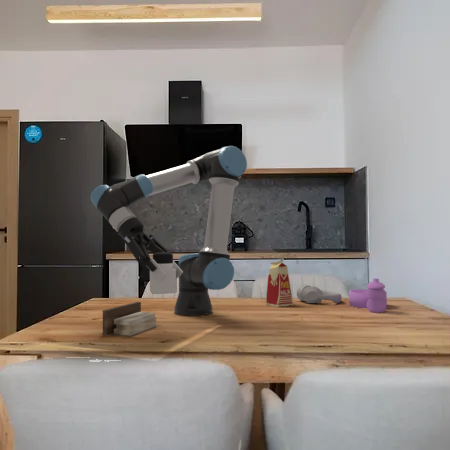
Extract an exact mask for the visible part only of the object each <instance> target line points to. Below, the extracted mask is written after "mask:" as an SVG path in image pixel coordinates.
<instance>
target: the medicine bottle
mask: <svg viewBox="0 0 450 450" xmlns="http://www.w3.org/2000/svg"><path fill="white" fill-rule="evenodd" d="M169 252H170V251H169ZM169 252H158V253H154V254H153V253H152V259H154V260H155V262H156V263H157V264H158V265H159V266H160V267H161V269H162V270H163V271H164V272H165V273H166V274H167V275H166V277H165V278H164V279H163V280H162V281H161V282H160V281H159V280H158V279H157V278H156V277H155V275H154V274H153V273H152V272H151V271H150V270H149V292H150V293H151V294H153V295H162V294H163V295H164V294H176V293H177V291H178V290H177V289H178V288H177V287H178V286H177V283H178V282H177V281H178V280H177V279H178V278H177V273H176V269H175V268H172V266H173V261H174V253H172V252H170V253H169Z"/></svg>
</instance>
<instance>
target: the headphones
mask: <svg viewBox="0 0 450 450" xmlns="http://www.w3.org/2000/svg"><path fill="white" fill-rule="evenodd" d="M296 297H297V299H298V300H299V301H301V300H302V302H305V301H306V302H305V303H307V304H310V303H317V304H320V303H321V302H322V301H323V300H325V299H327V300H326V301H332V302H333V303H335V304H340V303H341V301H342V298H343V297H342V295H341V293H338V292H333V291H328V290H323V289H320V288H319V287H316V286H312V285H309V284H302V285H300V286H299V287H298V288H297V290H296Z"/></svg>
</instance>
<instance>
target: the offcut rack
mask: <svg viewBox="0 0 450 450" xmlns="http://www.w3.org/2000/svg"><path fill="white" fill-rule="evenodd" d="M137 312H142V302H141V301H134V302H130V303H127V304H123V305H118V306H114V307H111V308H106V309H104V310H102V335H103V336H113V337H121V338H132V337H135V336H138V335H140V334H143V333H146V332H148V331H150V330H153V329H155V328H158V327H160V326H162V324H156V326H155V327H152V328H149V329H147V330H144V331H142V332H139V333H136V334H134V335H121V334H114V329H115V328H117V324H114V319H117V318H120V317H124V316H127V315H131V314H134V313H137Z"/></svg>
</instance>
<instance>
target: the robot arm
mask: <svg viewBox="0 0 450 450" xmlns="http://www.w3.org/2000/svg"><path fill="white" fill-rule="evenodd" d="M247 165H248V161H247V158H246V155H245V154H244V152H243V151H242V150H241V149H240V148H238V147H237V146H234V145H228V146H222V147H221V148H219V149H216V150H215V149H214V150H212V151H209V152H206V153H205V154H203V155H200V156H199V157H196V158H193V159H191V160H187V162H186V163H184V164H182V165H178V166H175V167H171V168H168V169H165V170H161V171H158V172H154V173H150V174H148V175H145V174H144V173H143V174H142V173H141V174H138V175H136V176H134V177H132V178H130V179H127V180H124V181H122V182H119V183H114V184H112V185H111V186H109V185H107V184H101V185H98V186H97V187H95V188H94V190H92V192H91V194H90V201H91V203H92V204H93V206H94V207H95V209H96V210H97V211H98V212H100V214H101V215H102V217H104V218H105V220H107V222H108V223H109V224H110V225H111V227H112V229H114V230H115V231H116V232H117V233H118V235H119V236H120V237H121V238H122V241H123V243H124V244H126V246H127V247H128V249H129V251H130V252H131V254H132V256H133V257H134V259H135V260H136V262H137V263H138V264H140V266H141V267H145V266H146V268H147V269H148V270H149V272H150V271H151V272H152V273H153V274H154V275H155V277H156V278H157V279H158V280H159V281H160V282H161V281H162V280H163V279H164V278H165V277H166V275H167V274H166V273H165V272H164V271H163V270H162V269H161V267H160V266H159V265H158V264H157V263H156V262H155V260H154V259H153V258H151V256H150V254H149V252H151V253H152V255H153V254H154V253H158V252H169V253H171V252H170V251H169V250H168V249H167V248H166V247H165V246H164V245H163V244H162V243H160V242H159V241H158V239H156V238H155V237H154V236H153V235H152V234H149V235H148V234H146V233H145V232H144V228H145V227H144V224H143V223H142V222H141V221H140V219H139V218H137V216H136V215H135V214H134V213H133V211H132V210H131V209H130V208H129V207H130V206H132V205H134V204H135V203H138V202H139V201H142V200H143V199H145V198H148V197H150V196H153V195H156V194H159V193H162V192H166V191H168V190H172V189H176V188H178V187H182V186H185V185H188V184H193V185H197V184H201V183H205V182H206V183H207V182H209V183H210V185H211V189H210V190H211V191H210V200H209V207H208V215H207V222H206V229H205V230H206V231H205V238H204V245H203V247H202V248H201V249H200V250H199V252H196V253H188V254H182V255H180V256H179V259H178V264H177V263H176V262H175V261H174V260H173V266H172V268H175V269H176V273H177V279H178V295H177V297H176V302H175V305H174V307H173V308H174V311H173V313H174V314H176V315H181V316H205V315H208V314H212V313H213V305H212V301H211V298H210V294H209V290H213V291H214V290H216V291H217V290H218V291H220V290H223V289H225V288H227V287H228V286H229V285H230V284H231V283H232V281H233V278H234V276H235V268H234V265H233V263H232V261H231V260H230V259H231V254H230V252H229V251H228V243H229V242H228V241H229V235H230V227H231V216H232V208H233V203H234V202H233V201H234V191H235V188H236V187H238V186H239V185H240V183H239V182H240V176H242V175H243V174H244V173H245V172H246V170H247V168H248V166H247ZM148 251H149V252H148Z"/></svg>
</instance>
